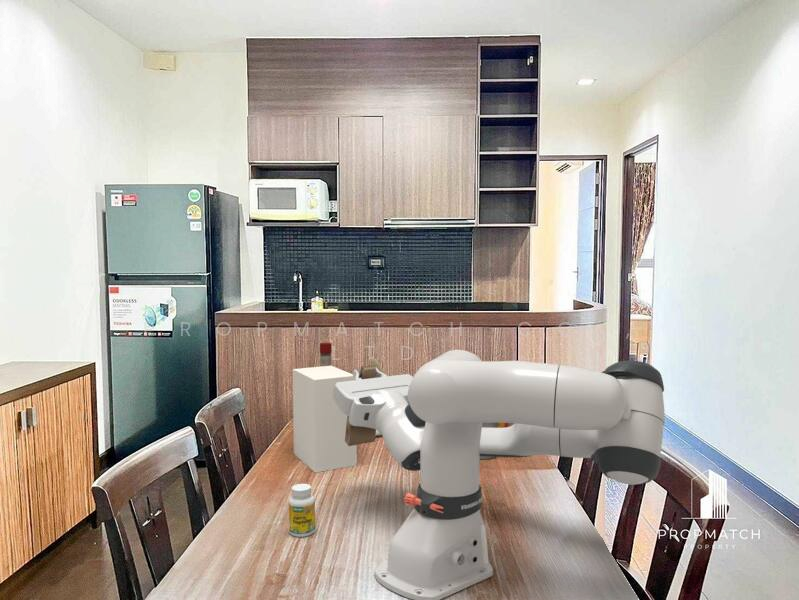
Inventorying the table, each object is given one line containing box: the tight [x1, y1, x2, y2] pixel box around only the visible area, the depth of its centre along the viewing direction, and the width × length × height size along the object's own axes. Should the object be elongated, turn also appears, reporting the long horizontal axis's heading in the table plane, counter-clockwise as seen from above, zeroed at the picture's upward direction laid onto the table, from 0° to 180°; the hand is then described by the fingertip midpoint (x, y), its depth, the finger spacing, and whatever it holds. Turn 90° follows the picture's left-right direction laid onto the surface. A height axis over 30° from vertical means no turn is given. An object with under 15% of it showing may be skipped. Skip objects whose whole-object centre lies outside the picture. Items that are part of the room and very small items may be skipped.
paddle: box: [345, 364, 376, 446], centre depth 145 cm, size 20×7×2 cm
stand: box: [292, 365, 358, 474], centre depth 170 cm, size 18×12×25 cm, turn 28°
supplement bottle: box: [288, 483, 316, 538], centre depth 125 cm, size 5×5×10 cm
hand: (364, 370), depth 144 cm, fingers closed on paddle, 3 cm apart
